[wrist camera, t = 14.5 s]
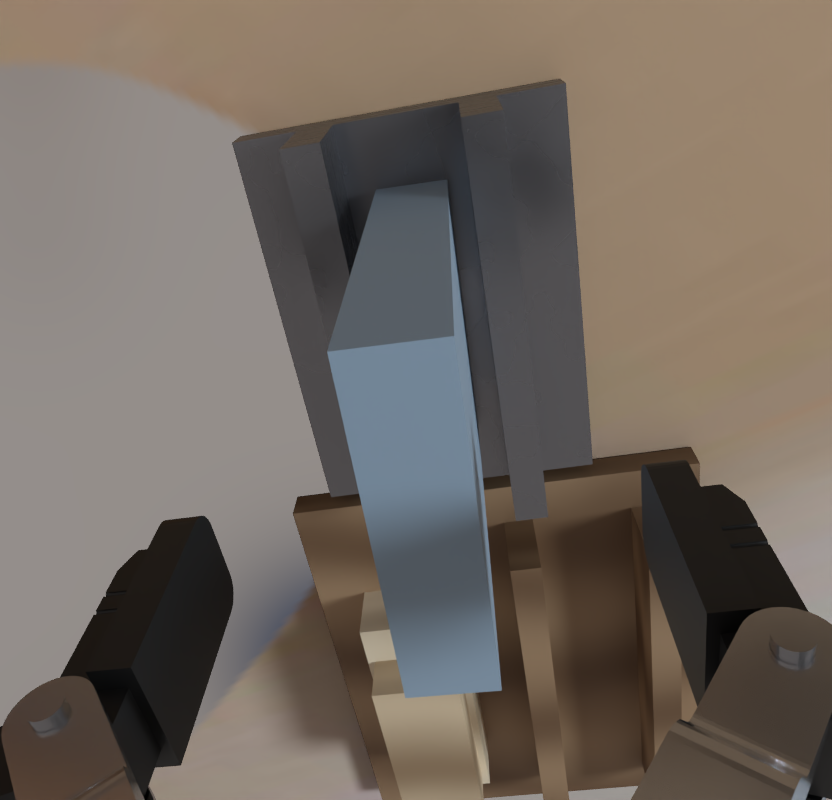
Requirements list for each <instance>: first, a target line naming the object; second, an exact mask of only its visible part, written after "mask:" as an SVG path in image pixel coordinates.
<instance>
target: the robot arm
mask: <svg viewBox="0 0 832 800" xmlns="http://www.w3.org/2000/svg"><path fill="white" fill-rule="evenodd" d="M641 492H642V530H643V542H644V548H645V554H646V558H647V563H648V566H649V569H650V572H651V575H652V578H653V581H654V584H655V586H656V589H657V592H658V595H659V598H660V601H661V604H662V607H663V609H664V612H665V615H666V618H667V621H668V624H669V627H670V629H671V632H672V635H673V638H674V641H675V644H676V647H677V650H678V652H679V655H680V658H681V661H682V664H683V667H684V670H685V673H686V675H687V678H688V681H689V684H690V687H691V690H692V693H693V695H694V698H695V701H696V704H697V709H696V711H695V712H694V714H693V716H692V718H691V719H690V720H689V721H688V722H686V721H684V720H682V719H679V720H677V721H676V722H675V723H674V724H673V725H672V727H671V728H670V730H669V731H668V733H667V735H666V736H665V738H664V740H663V742H662V744H661V745H660V747H659V749H658V751H657V753H656V755H655V756H654V758H653V760H652V762H651V764H650V766H649V767H648V769H647V771H646V773H645V775H644V777H643V778H642V780H641V782H640V784H639V786H638V788H637V789H636V791H635V793H634V795H633V797H632V799H631V800H826V798H829V799H832V624H830V623H829V622H827V621H826V620H824V619H823V618H821V617H819V616H817V615H815V614H812V613H810V612H809V611H808V610H807V608H806V607H805V605H804V603H803V601H802V600H801V598H800V596H799V595H798V593H797V591H796V589H795V588H794V586H793V584H792V582H791V581H790V579H789V577H788V575H787V574H786V572H785V570H784V568H783V567H782V565H781V563H780V561H779V560H778V558H777V556H776V554H775V553H774V551H773V549H772V547H771V546H770V545H768V542H767V539H766V537H765V535H764V533H763V532H762V530H761V528H760V527H758V525H757V521H756V520H755V518H754V516H753V514H752V513H751V511H750V509H749V507H748V506H747V504H746V502H745V501H744V500H742V499H741V498H740V497H738V496H737V495H736V494H734V493H733V492H732V491H730V490H729V489H728V488H726V487H725V486H724V485H722V484H721V485H712V486H703V487H700V485H699V483H698V481H697V479H696V477H695V475H694V473H693V471H692V469H691V467H690V465H689V463H688V462H687V460H677V461H668V462H660V463H651V464H643V465H642V468H641ZM232 606H233V584H232V579H231V576H230V573H229V570H228V568H227V565H226V563H225V560H224V557H223V555H222V552H221V549H220V547H219V544H218V542H217V539H216V536H215V534H214V531H213V529H212V526H211V524H210V522H209V520H208V519H207V518H206V517H205V516H198V517H189V518H181V519H173V520H165V521H163V522H162V523H161V524H160V526H159V528H158V530H157V532H156V534H155V536H154V538H153V540H152V542H151V544H150V545H149V548H148V549H147V550H139V551H137V552H136V553H135V554H134V555H133V556H132V557H131V558H130V559H129V560H128V561H127V562H126V563H125V564H124V565H123V566H122V567H121V568H120V569H119V570H118V571H117V573H116V575H115V577H114V578H113V580H112V582H111V584H110V586H109V588H108V589H107V592H106V597H103V599H102V601H101V603H100V604H99V606H98V608H97V610H96V612H97V614H96V615H93V618H92V619H91V621H90V623H89V625H88V627H87V628H86V631H85V632H84V634H83V636H82V638H81V640H80V641H79V643H78V645H77V647H76V649H75V651H74V653H73V655H72V656H71V658H70V660H69V662H68V664H67V666H66V667H65V669H64V671H63V673H62V675H61V677H60V678H57V679H54V680H51V681H49V682H47V683H45V684H42V685H41V686H39V687H37V688H36V689H34V690H32V691H31V692H30V693H28V694H27V695H26V696H25V697H23V698H22V699H21V700H20V701H19V702H18V703H17V704H16V705H15V707H14V708H13V709H12V710H11V712H10V713H9V714H8V716H7V718H6V720H5V722H4V724H3V726H1V727H0V800H156V799H155V796H154V794H153V792H152V790H151V789H150V787H149V782H150V780H151V777H152V774H153V771H154V768H155V767H166V766H179V765H181V763H182V760H183V757H184V754H185V751H186V748H187V745H188V742H189V739H190V736H191V733H192V730H193V727H194V723H195V720H196V717H197V714H198V711H199V708H200V705H201V702H202V699H203V696H204V693H205V690H206V687H207V684H208V681H209V678H210V675H211V671H212V669H213V665H214V662H215V659H216V656H217V653H218V650H219V647H220V644H221V641H222V638H223V635H224V632H225V629H226V626H227V623H228V620H229V617H230V614H231V610H232Z"/></svg>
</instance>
